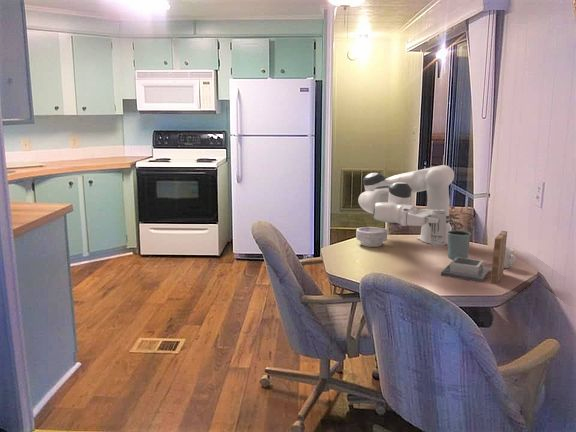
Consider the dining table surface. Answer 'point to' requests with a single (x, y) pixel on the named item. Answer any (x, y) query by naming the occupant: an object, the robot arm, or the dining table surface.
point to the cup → (509, 257)
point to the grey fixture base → (466, 269)
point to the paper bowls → (371, 236)
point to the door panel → (498, 257)
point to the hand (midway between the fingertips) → (441, 219)
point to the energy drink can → (438, 228)
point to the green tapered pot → (458, 244)
